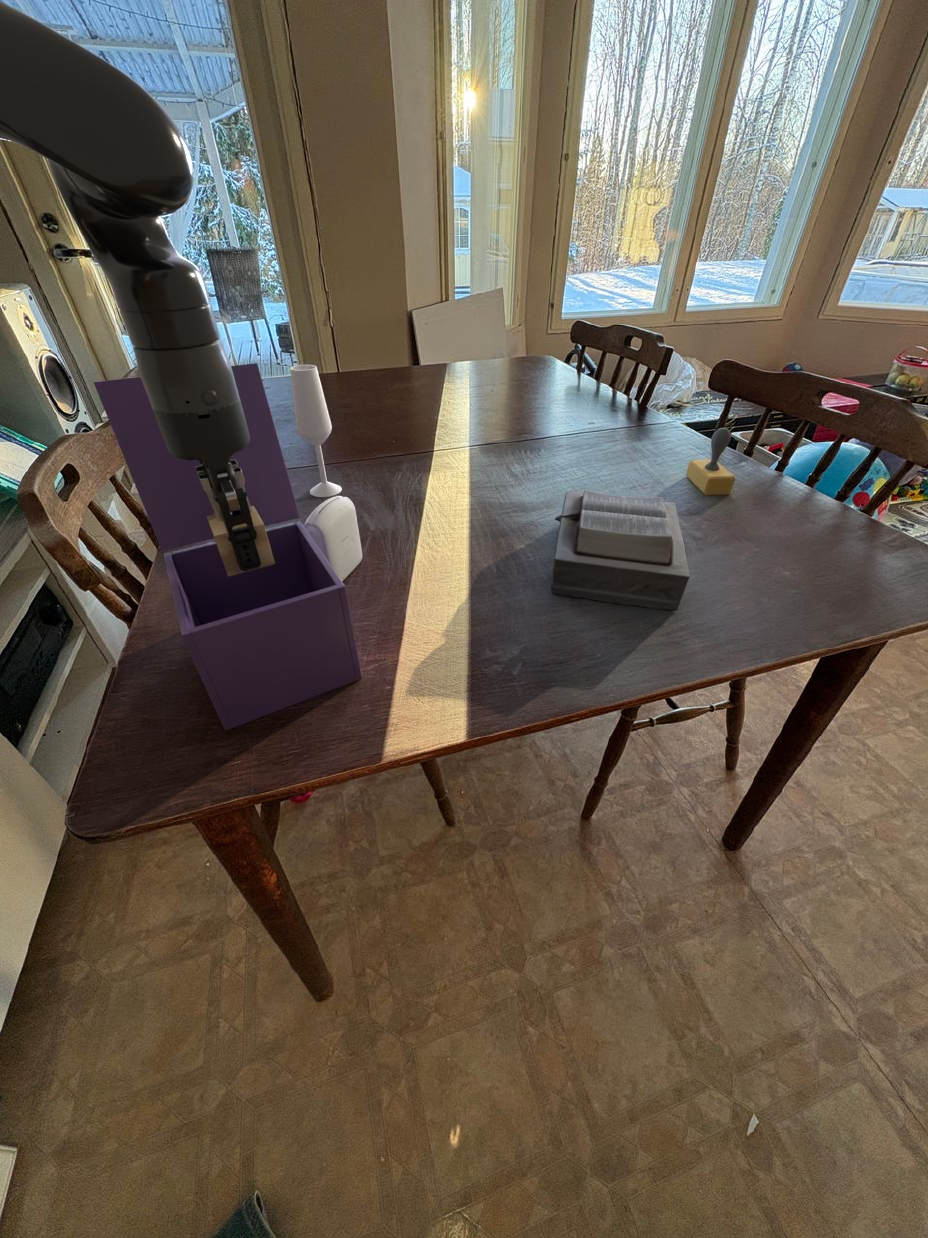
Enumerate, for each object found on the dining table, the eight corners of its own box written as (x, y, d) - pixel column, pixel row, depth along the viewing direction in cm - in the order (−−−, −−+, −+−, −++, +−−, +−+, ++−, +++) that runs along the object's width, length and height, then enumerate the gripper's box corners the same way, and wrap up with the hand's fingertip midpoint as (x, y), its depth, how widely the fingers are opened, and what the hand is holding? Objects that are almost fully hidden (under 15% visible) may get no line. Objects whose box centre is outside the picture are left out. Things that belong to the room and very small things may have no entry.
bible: (520, 587, 80) (525, 531, 74) (566, 514, 99) (572, 465, 93) (675, 625, 73) (695, 567, 67) (692, 538, 92) (709, 486, 86)
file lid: (257, 362, 59) (256, 363, 60) (93, 381, 53) (94, 382, 53) (300, 517, 67) (298, 516, 68) (161, 550, 61) (161, 549, 61)
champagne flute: (345, 493, 107) (326, 369, 92) (314, 499, 105) (288, 373, 90) (336, 481, 112) (316, 361, 97) (306, 487, 110) (280, 365, 95)
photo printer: (334, 592, 79) (320, 520, 72) (311, 587, 81) (294, 516, 73) (366, 559, 87) (357, 491, 79) (344, 554, 88) (332, 487, 80)
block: (228, 576, 55) (213, 535, 52) (220, 555, 58) (206, 516, 55) (275, 564, 57) (263, 524, 54) (264, 544, 60) (253, 505, 57)
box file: (362, 678, 65) (345, 586, 56) (225, 731, 58) (181, 635, 49) (319, 606, 77) (300, 520, 68) (201, 643, 70) (163, 553, 61)
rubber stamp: (684, 475, 114) (700, 420, 106) (710, 474, 114) (727, 419, 107) (704, 495, 106) (722, 437, 98) (731, 494, 106) (751, 436, 99)
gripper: (144, 384, 50) (200, 537, 61) (157, 425, 40) (222, 598, 51) (224, 374, 53) (264, 521, 64) (254, 411, 43) (296, 577, 54)
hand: (245, 555), depth 57 cm, fingers closed on block, 5 cm apart
